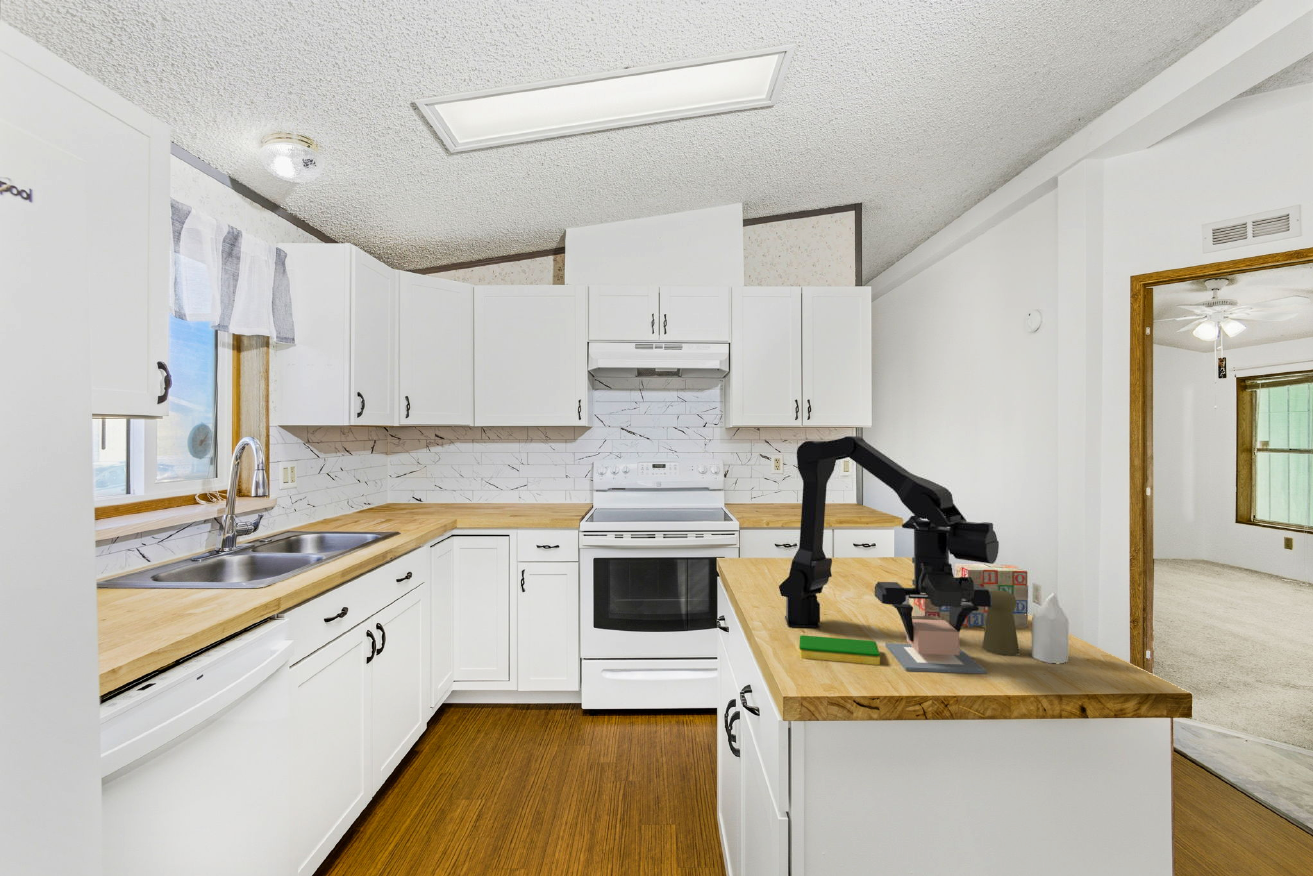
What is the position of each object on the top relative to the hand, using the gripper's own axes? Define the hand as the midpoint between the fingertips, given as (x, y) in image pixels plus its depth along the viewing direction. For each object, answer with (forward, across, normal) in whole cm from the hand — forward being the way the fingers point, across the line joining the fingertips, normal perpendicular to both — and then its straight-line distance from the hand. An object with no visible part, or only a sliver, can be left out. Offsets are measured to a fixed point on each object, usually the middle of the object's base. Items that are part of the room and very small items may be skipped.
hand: (931, 641), depth 104 cm
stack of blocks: (+4, +16, +23) cm, 28 cm away
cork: (+3, +14, +6) cm, 16 cm away
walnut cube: (+3, +4, +11) cm, 12 cm away
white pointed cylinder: (+3, +21, +2) cm, 22 cm away
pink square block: (+1, 0, 0) cm, 1 cm away
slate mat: (+3, 0, 0) cm, 3 cm away
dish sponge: (+4, -16, +1) cm, 17 cm away
